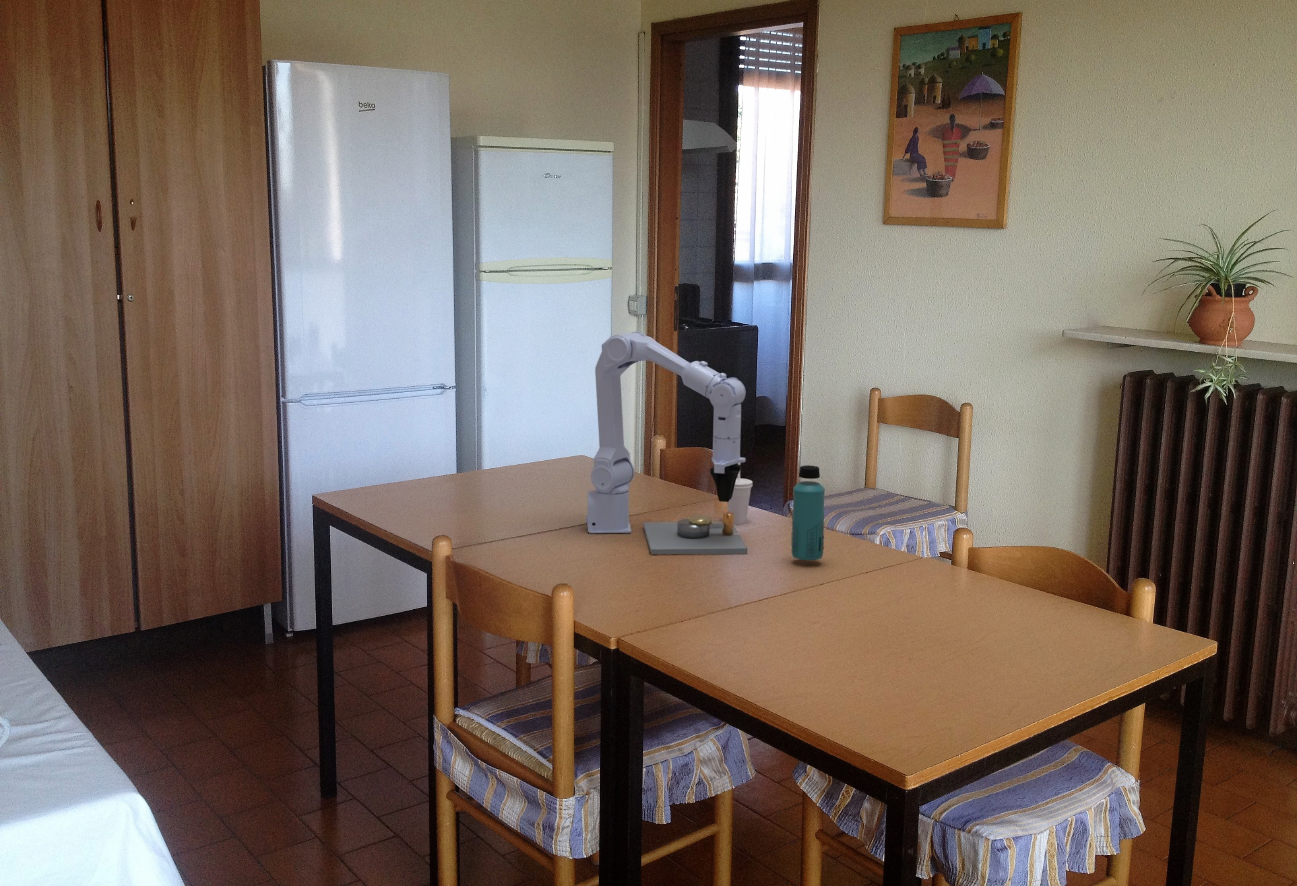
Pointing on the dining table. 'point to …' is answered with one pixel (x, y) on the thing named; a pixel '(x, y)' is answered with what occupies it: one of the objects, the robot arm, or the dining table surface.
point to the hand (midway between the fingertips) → (725, 500)
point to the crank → (704, 525)
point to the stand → (691, 541)
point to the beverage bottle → (808, 516)
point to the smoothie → (740, 499)
